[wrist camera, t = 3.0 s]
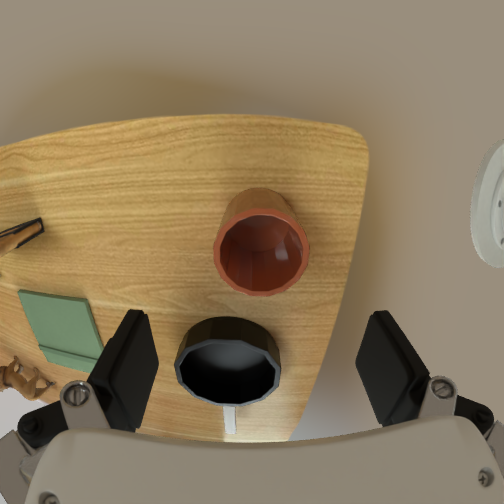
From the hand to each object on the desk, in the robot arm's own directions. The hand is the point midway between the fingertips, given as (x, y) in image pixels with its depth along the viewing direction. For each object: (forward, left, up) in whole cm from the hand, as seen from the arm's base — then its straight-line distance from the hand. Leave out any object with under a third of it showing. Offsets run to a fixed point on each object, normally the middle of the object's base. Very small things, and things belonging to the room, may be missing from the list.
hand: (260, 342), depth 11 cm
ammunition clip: (+31, +1, -17) cm, 35 cm away
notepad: (+28, +17, -17) cm, 36 cm away
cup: (0, 0, -17) cm, 17 cm away
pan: (+3, +21, -17) cm, 27 cm away
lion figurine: (+45, +30, -17) cm, 56 cm away
